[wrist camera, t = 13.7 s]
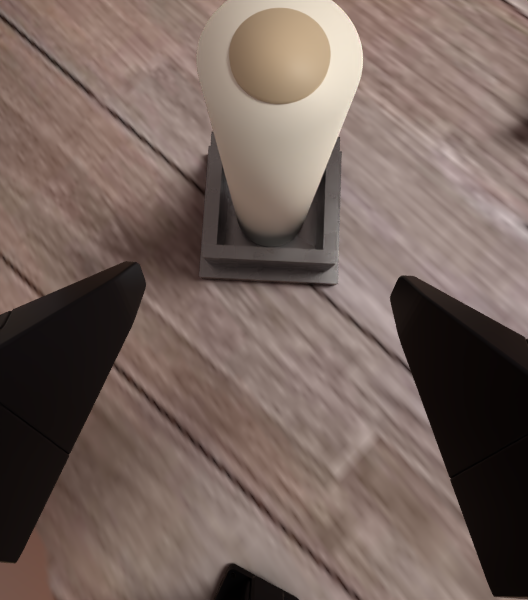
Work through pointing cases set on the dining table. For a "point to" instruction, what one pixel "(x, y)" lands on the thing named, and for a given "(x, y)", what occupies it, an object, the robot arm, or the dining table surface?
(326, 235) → the holder
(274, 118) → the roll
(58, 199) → the dining table surface
